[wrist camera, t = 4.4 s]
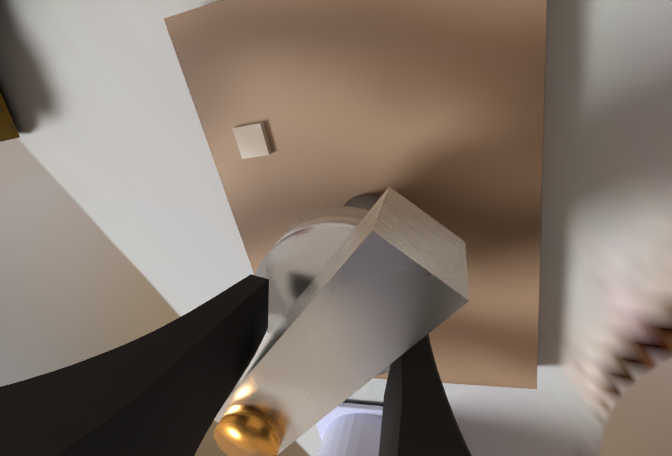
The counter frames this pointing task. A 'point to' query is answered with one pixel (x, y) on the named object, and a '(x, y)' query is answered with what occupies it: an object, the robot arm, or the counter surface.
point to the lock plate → (388, 139)
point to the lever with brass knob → (340, 315)
